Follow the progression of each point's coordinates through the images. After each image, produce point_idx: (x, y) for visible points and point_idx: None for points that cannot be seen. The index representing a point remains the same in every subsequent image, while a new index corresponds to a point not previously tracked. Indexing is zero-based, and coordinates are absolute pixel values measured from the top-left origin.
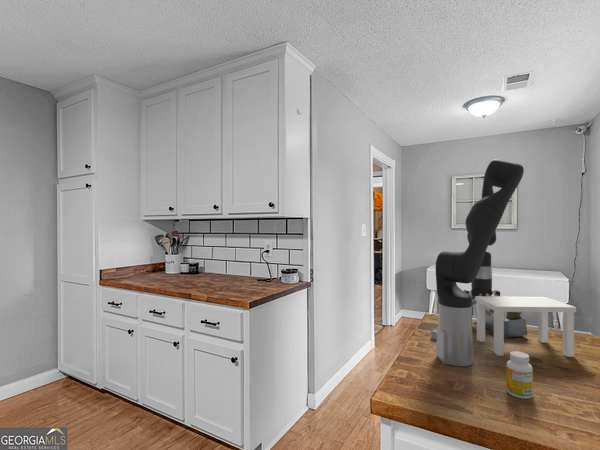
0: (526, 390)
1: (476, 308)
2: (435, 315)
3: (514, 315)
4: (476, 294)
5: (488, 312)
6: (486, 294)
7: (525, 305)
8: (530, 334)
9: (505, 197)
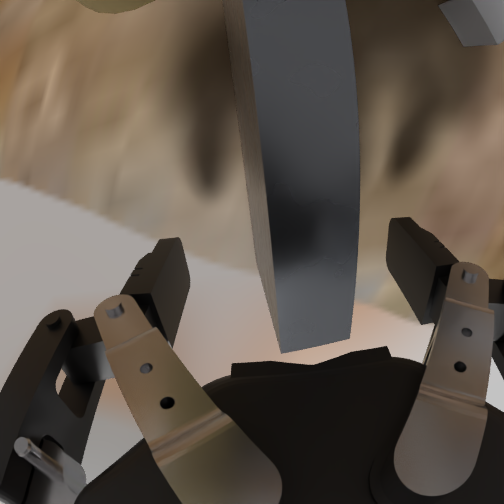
0: None
1: (352, 302)
2: None
3: None
4: (483, 448)
5: (296, 48)
6: (249, 502)
7: None
8: (30, 4)
9: None
